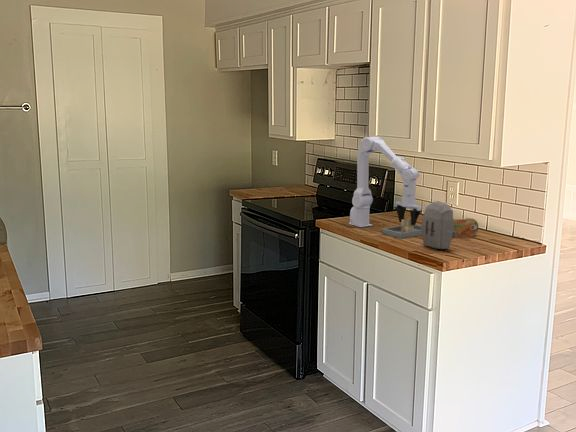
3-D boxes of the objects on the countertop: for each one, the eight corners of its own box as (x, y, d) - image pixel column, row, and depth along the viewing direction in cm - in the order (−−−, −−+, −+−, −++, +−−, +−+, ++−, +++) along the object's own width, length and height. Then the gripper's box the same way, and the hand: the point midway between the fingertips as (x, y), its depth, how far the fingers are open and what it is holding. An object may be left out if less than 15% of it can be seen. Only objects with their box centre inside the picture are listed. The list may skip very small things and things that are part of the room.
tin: (449, 238, 258) (450, 219, 256) (445, 236, 261) (446, 218, 259) (478, 236, 262) (479, 218, 260) (474, 234, 265) (475, 217, 263)
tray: (382, 233, 264) (382, 228, 264) (412, 228, 275) (412, 223, 275) (400, 238, 255) (400, 233, 254) (431, 233, 266) (431, 228, 265)
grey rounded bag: (455, 250, 235) (458, 203, 231) (440, 253, 231) (443, 204, 227) (429, 242, 248) (432, 197, 244) (414, 245, 244) (417, 199, 240)
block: (400, 232, 265) (401, 219, 264) (407, 231, 268) (407, 218, 266) (407, 233, 262) (407, 221, 261) (413, 232, 264) (414, 220, 263)
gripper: (426, 196, 258) (425, 225, 260) (403, 191, 269) (402, 219, 272) (415, 197, 254) (414, 227, 256) (392, 192, 266) (391, 221, 268)
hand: (407, 223), depth 264 cm, fingers open, 7 cm apart
